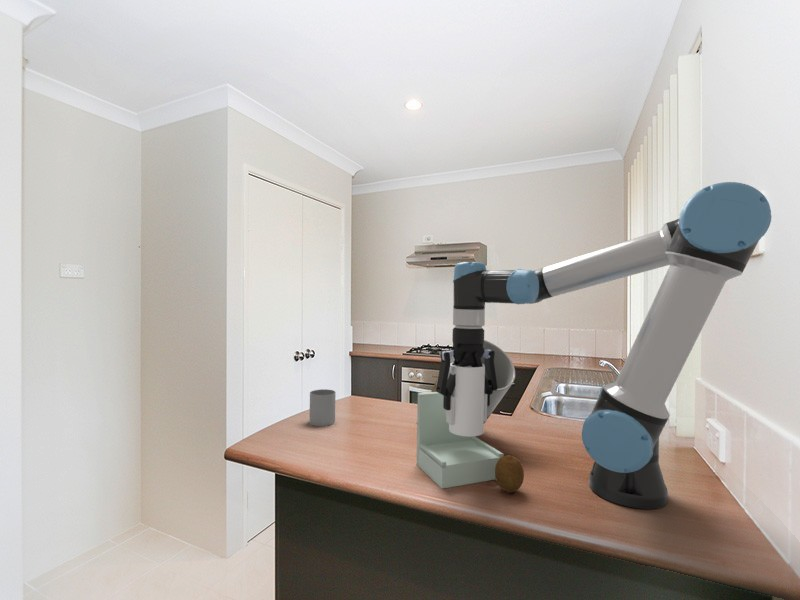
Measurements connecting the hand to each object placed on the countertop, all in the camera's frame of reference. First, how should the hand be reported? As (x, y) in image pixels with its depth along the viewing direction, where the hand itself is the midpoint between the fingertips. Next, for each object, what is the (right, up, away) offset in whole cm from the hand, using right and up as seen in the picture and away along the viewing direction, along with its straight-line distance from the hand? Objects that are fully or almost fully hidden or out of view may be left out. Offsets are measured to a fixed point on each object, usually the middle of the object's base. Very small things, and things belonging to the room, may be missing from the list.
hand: (466, 421), depth 99 cm
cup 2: (0, -2, 0) cm, 2 cm away
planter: (+1, -8, +33) cm, 34 cm away
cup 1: (-42, -12, +39) cm, 58 cm away
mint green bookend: (-2, -13, +2) cm, 13 cm away
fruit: (+8, -13, -9) cm, 17 cm away
